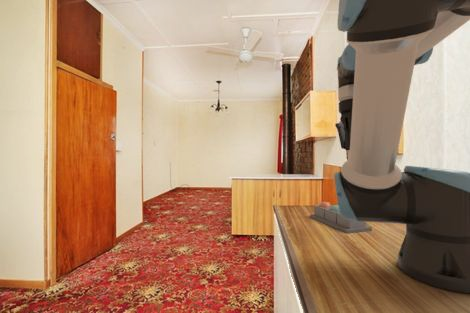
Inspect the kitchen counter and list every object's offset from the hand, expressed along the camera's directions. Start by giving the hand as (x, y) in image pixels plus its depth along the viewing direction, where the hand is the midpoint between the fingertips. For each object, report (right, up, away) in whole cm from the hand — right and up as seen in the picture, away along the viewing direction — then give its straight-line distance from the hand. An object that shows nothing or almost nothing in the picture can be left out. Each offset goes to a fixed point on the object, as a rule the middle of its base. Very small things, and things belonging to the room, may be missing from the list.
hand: (352, 169), depth 77 cm
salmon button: (-2, -19, +18) cm, 26 cm away
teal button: (0, -19, +11) cm, 22 cm away
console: (0, -21, +11) cm, 24 cm away
